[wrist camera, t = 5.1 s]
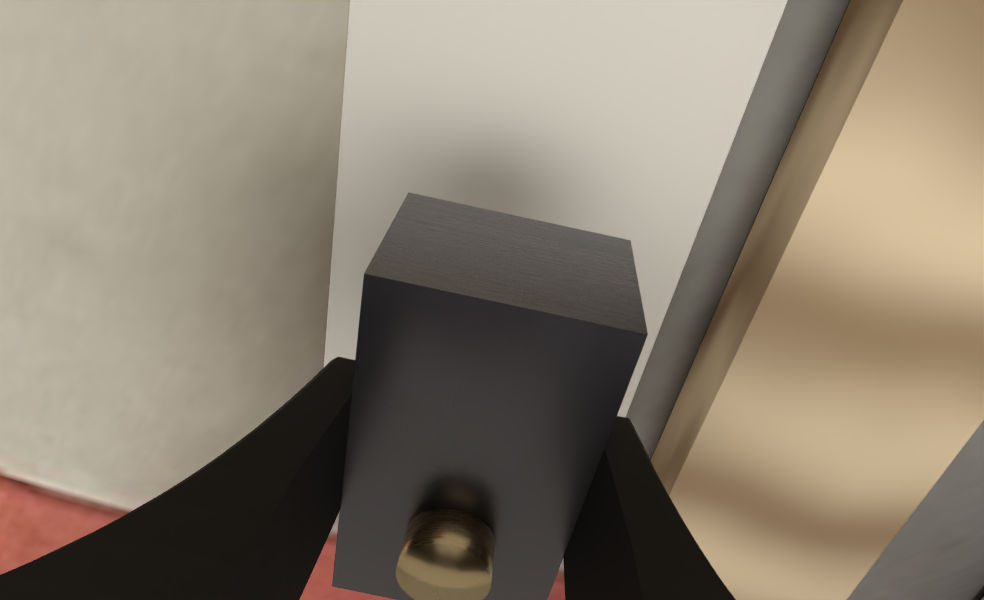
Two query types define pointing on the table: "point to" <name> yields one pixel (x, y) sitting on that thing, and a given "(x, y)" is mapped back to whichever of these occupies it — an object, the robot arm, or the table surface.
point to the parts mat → (542, 125)
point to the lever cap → (480, 400)
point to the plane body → (845, 317)
